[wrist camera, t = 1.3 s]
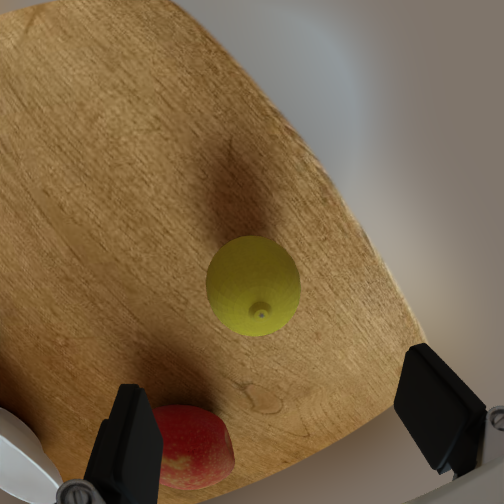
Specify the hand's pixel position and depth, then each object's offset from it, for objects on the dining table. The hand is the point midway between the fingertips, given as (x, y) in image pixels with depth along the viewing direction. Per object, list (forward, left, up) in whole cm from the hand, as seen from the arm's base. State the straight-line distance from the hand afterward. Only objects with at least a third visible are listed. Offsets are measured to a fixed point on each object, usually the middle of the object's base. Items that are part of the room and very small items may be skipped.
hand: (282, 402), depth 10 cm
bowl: (+25, -28, -14) cm, 40 cm away
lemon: (0, 0, -14) cm, 14 cm away
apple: (+16, -4, -14) cm, 21 cm away
